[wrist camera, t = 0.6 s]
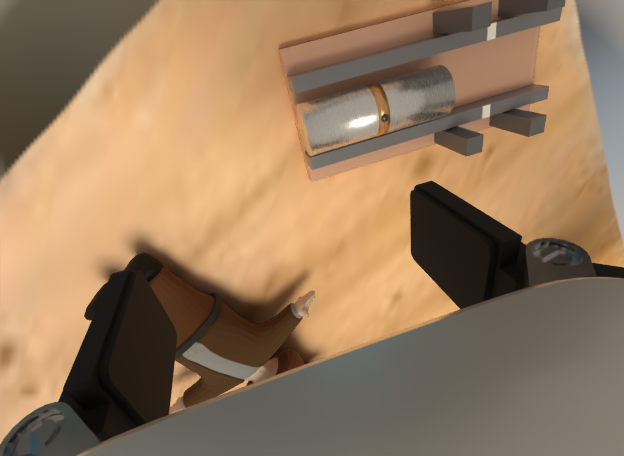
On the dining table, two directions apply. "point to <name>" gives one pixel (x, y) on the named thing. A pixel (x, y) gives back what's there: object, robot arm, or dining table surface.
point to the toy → (217, 335)
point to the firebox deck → (423, 54)
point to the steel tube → (375, 109)
